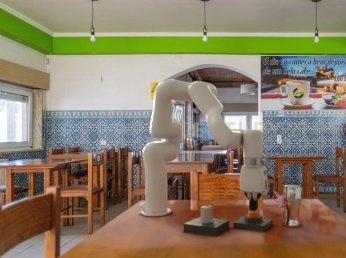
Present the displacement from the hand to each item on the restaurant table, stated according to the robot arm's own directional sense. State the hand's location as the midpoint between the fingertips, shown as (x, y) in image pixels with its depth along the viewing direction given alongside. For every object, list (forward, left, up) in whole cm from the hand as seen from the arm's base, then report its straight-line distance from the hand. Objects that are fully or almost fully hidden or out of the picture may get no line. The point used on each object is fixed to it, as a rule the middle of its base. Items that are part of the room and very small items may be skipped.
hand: (253, 210), depth 134 cm
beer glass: (+13, +8, -6) cm, 16 cm away
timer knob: (-14, -11, -3) cm, 18 cm away
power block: (0, 0, -6) cm, 6 cm away
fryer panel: (-14, -11, -6) cm, 19 cm away
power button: (0, 0, -3) cm, 3 cm away
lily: (+5, +23, -6) cm, 24 cm away
